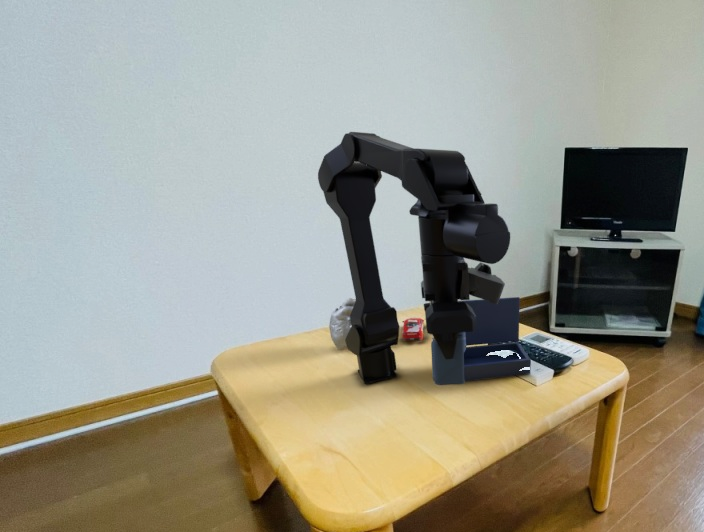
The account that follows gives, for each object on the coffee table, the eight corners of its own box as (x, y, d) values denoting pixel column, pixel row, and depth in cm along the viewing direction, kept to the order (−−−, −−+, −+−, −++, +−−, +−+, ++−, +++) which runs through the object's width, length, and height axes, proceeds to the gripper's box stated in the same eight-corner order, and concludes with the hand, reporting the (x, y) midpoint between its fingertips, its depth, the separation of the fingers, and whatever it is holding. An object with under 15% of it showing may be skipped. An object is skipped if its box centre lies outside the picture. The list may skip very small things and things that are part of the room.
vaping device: (467, 384, 60) (466, 307, 57) (432, 386, 59) (429, 307, 56) (466, 378, 63) (464, 304, 60) (432, 380, 62) (429, 305, 59)
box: (530, 373, 82) (530, 359, 81) (461, 381, 79) (460, 367, 77) (518, 355, 91) (518, 341, 89) (454, 361, 87) (454, 347, 86)
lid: (519, 297, 84) (514, 291, 89) (451, 302, 81) (449, 295, 85) (518, 341, 89) (513, 333, 93) (454, 346, 85) (451, 338, 90)
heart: (341, 333, 100) (328, 290, 93) (377, 334, 99) (366, 292, 93) (322, 356, 92) (306, 311, 85) (361, 358, 91) (347, 312, 84)
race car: (405, 325, 107) (403, 311, 105) (425, 324, 108) (424, 310, 106) (400, 344, 95) (398, 329, 94) (423, 343, 96) (422, 328, 94)
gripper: (516, 264, 47) (513, 378, 54) (487, 240, 64) (488, 329, 70) (422, 268, 45) (431, 386, 51) (417, 241, 61) (424, 334, 68)
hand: (448, 354), depth 60 cm, fingers closed on vaping device, 2 cm apart
